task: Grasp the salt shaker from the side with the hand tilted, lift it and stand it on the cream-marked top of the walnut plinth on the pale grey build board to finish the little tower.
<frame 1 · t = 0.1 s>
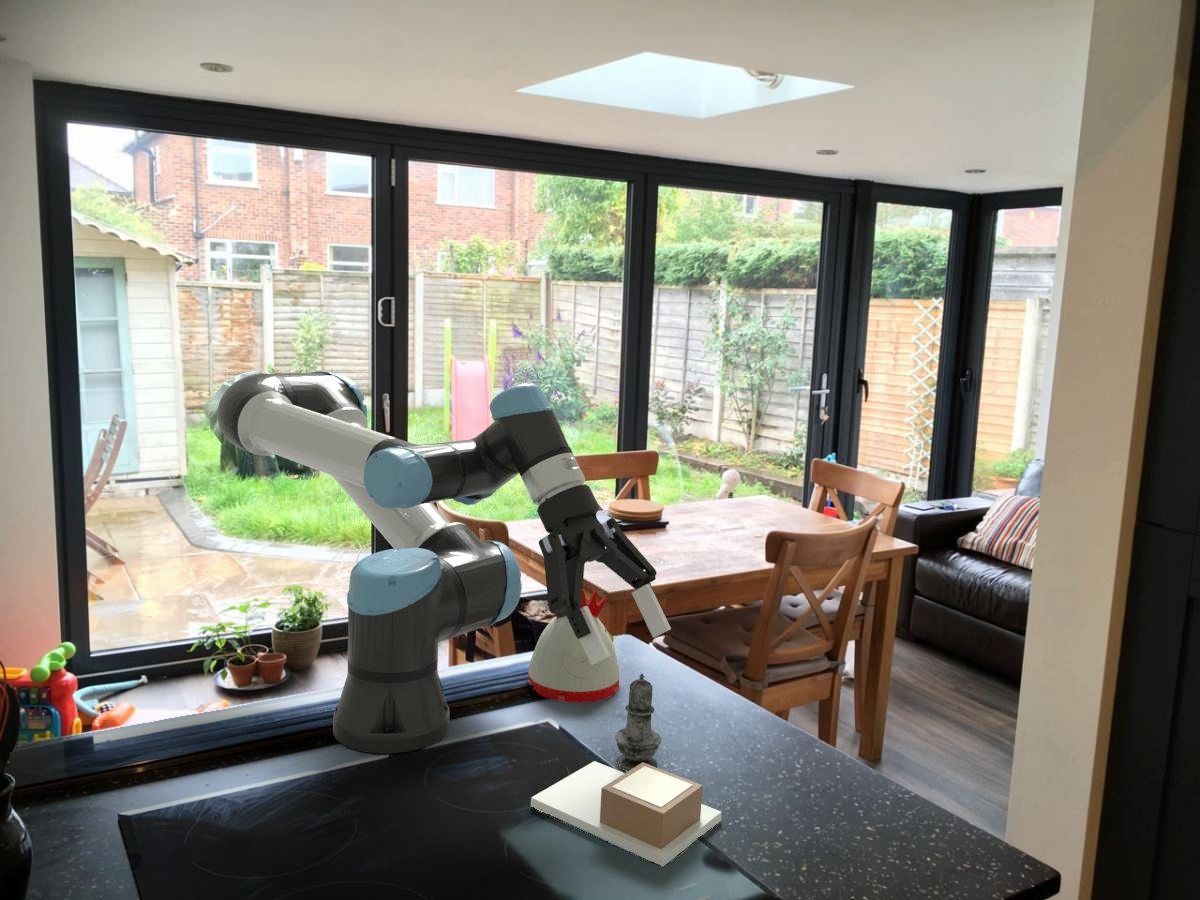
hand: (633, 646, 118), 15 cm above the kitchen island, tool tilted 35°, fingers open, 13 cm apart
salt shaker: (636, 765, 120), on the kitchen island
kitchen timer: (573, 685, 145), on the kitchen island
build board: (625, 814, 108), on the kitchen island
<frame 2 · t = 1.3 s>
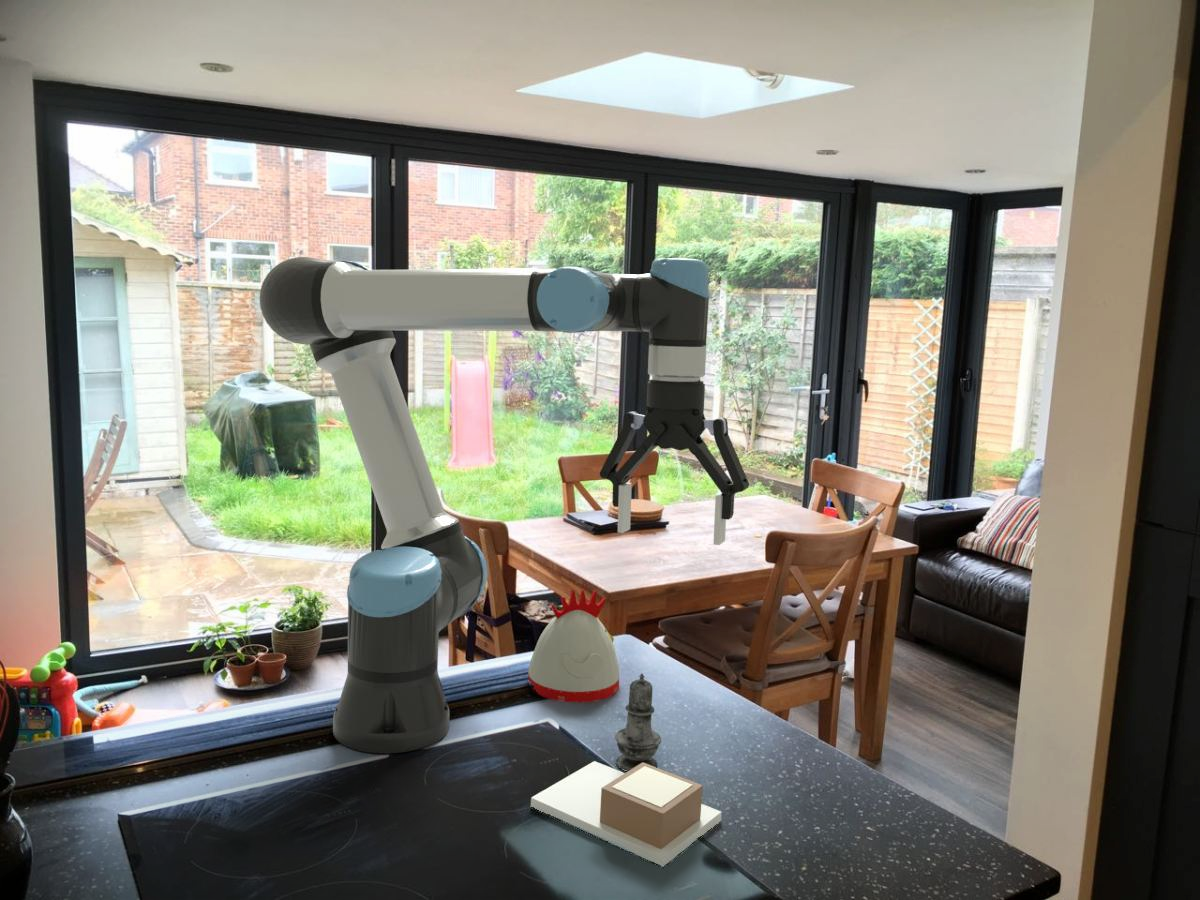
hand: (670, 537, 128), 27 cm above the kitchen island, tool pointing down, fingers open, 13 cm apart
nothing on the kitchen island moved.
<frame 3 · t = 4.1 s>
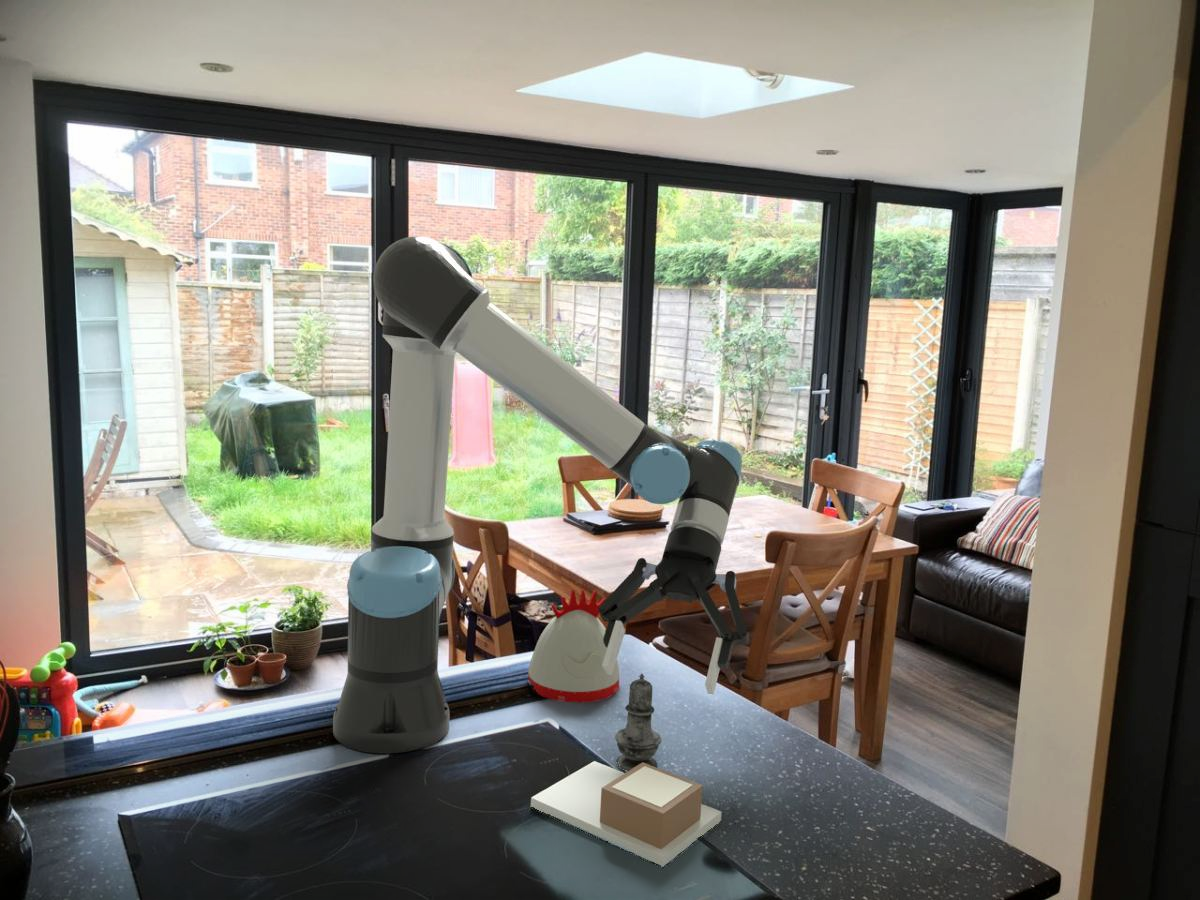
hand: (657, 680, 120), 11 cm above the kitchen island, tool tilted 45°, fingers open, 13 cm apart
nothing on the kitchen island moved.
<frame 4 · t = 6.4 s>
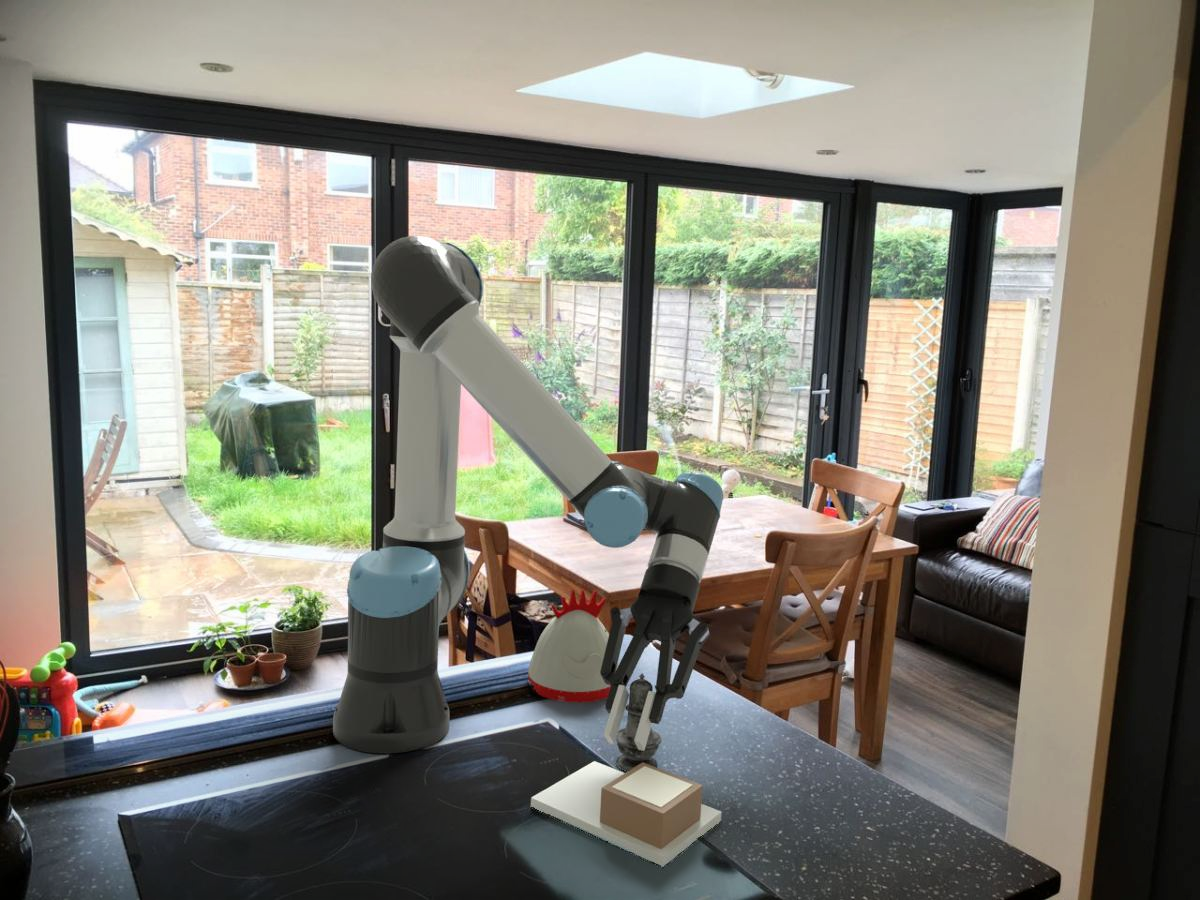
hand: (624, 742, 115), 5 cm above the kitchen island, tool tilted 45°, fingers closed on salt shaker, 3 cm apart
salt shaker: (636, 765, 120), on the kitchen island, touching gripper
everything else where it was.
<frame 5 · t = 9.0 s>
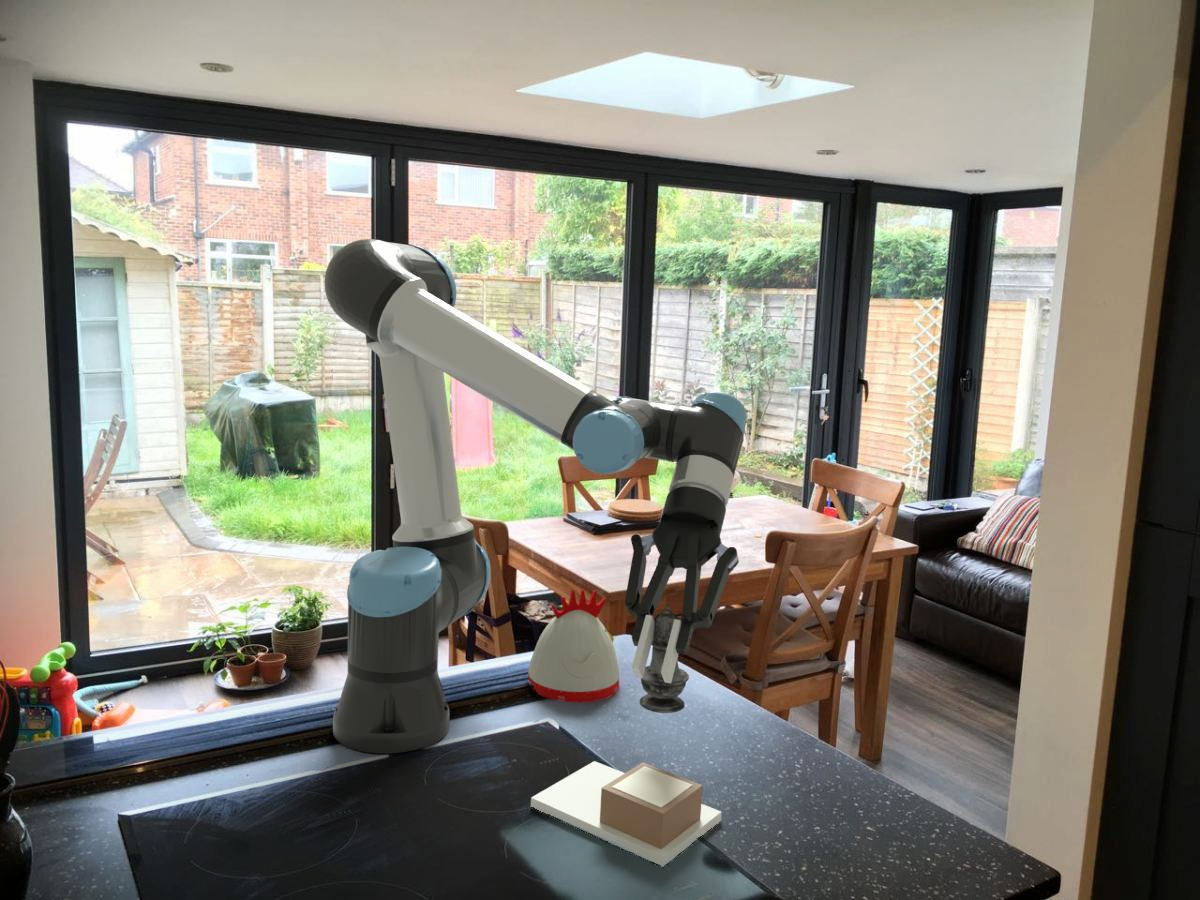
hand: (651, 674, 106), 17 cm above the kitchen island, tool tilted 45°, fingers closed on salt shaker, 3 cm apart
salt shaker: (661, 705, 112), point 11 cm above the kitchen island, touching gripper
everything else where it was.
when the fingers open (12 cm above the kitchen island, at t = 11.1 s): salt shaker stays where it is, resting on build board.
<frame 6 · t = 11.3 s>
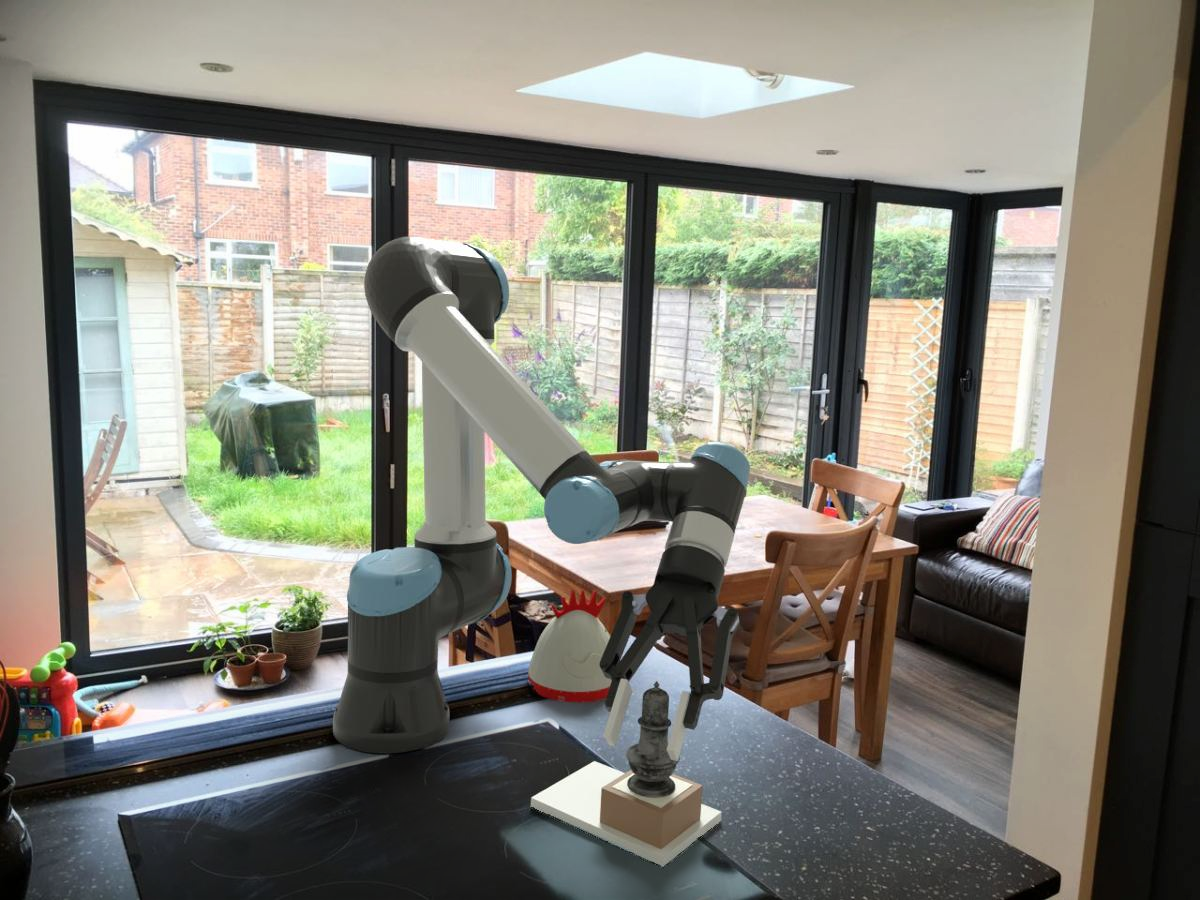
hand: (640, 747, 98), 12 cm above the kitchen island, tool tilted 45°, fingers open, 6 cm apart
salt shaker: (651, 786, 104), point 5 cm above the kitchen island, touching build board
everything else where it was.
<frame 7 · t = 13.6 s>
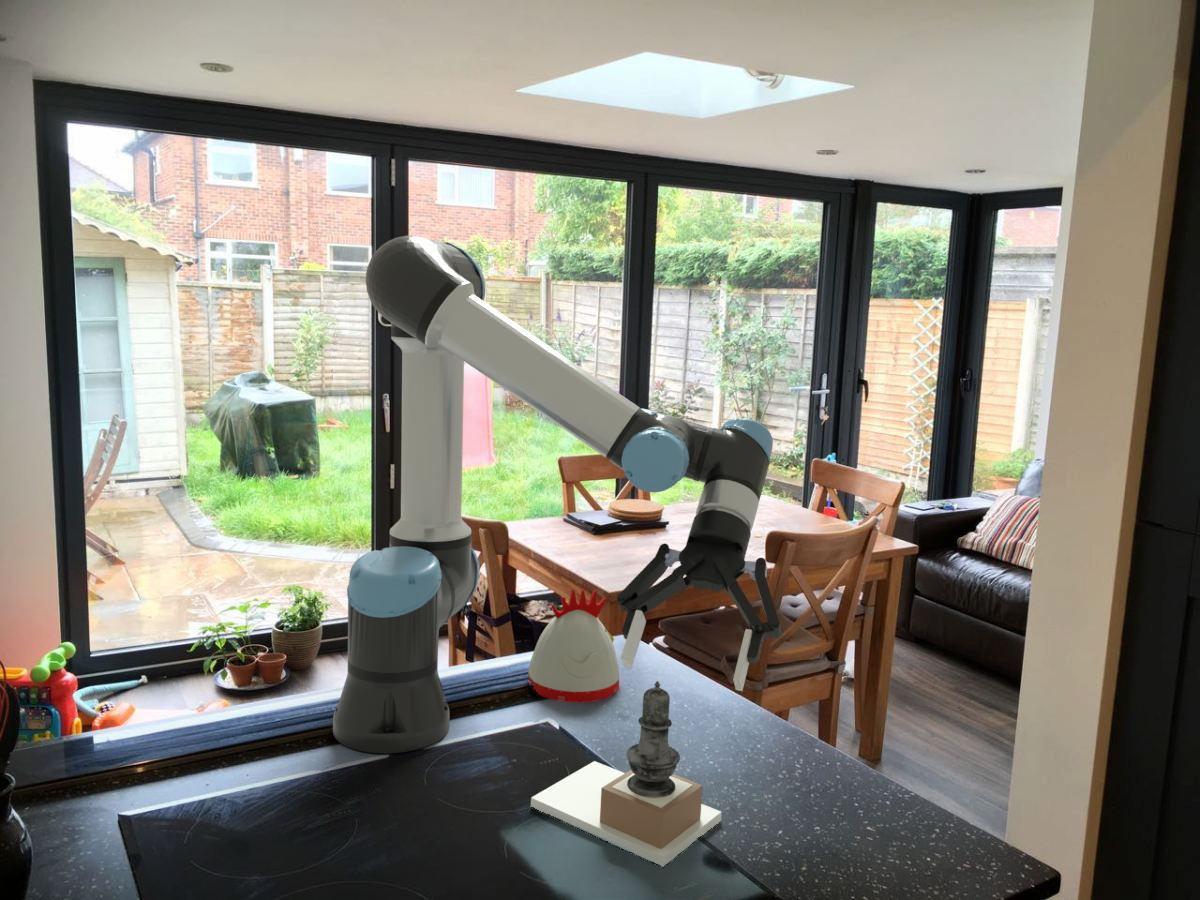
hand: (680, 674, 111), 15 cm above the kitchen island, tool tilted 45°, fingers open, 13 cm apart
nothing on the kitchen island moved.
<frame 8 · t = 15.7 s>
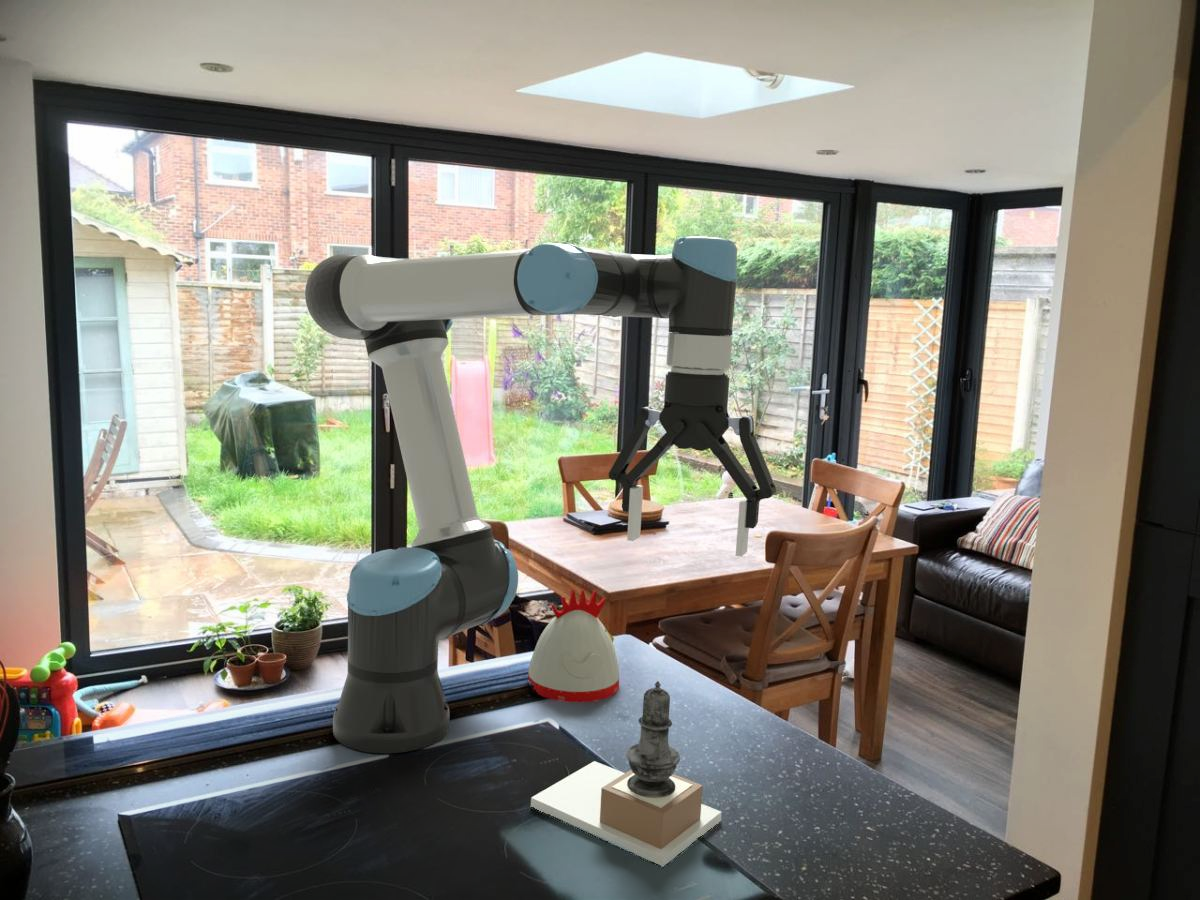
hand: (686, 546, 115), 29 cm above the kitchen island, tool pointing down, fingers open, 13 cm apart
nothing on the kitchen island moved.
at the end: salt shaker inside the target area (0.1 cm from its centre), point 5.1 cm above the kitchen island; salt shaker tilted 0°; the gripper is holding nothing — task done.
